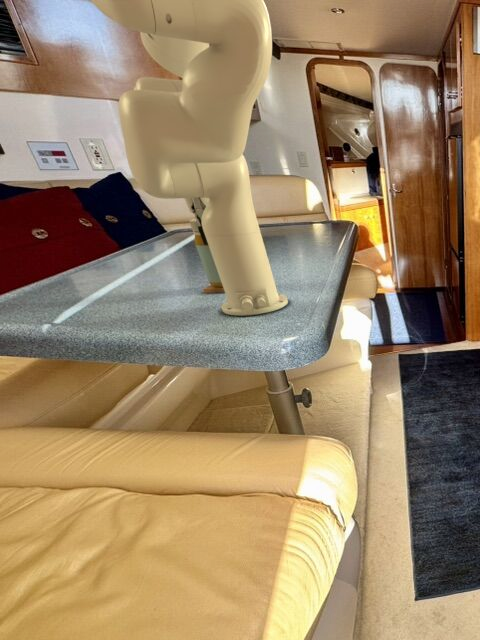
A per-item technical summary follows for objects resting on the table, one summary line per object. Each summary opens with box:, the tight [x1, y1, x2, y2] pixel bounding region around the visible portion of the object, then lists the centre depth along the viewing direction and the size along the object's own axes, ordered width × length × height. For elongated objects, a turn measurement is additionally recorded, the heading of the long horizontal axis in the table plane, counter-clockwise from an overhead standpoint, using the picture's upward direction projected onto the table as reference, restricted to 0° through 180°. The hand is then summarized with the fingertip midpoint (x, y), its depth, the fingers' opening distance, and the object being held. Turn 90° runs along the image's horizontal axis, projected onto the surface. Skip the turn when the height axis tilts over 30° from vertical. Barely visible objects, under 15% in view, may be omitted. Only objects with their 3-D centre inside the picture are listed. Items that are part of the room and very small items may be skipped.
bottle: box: [188, 218, 223, 287], centre depth 95 cm, size 7×7×15 cm
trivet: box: [203, 284, 225, 294], centre depth 99 cm, size 8×8×1 cm
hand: (212, 241), depth 94 cm, fingers closed on bottle, 7 cm apart
